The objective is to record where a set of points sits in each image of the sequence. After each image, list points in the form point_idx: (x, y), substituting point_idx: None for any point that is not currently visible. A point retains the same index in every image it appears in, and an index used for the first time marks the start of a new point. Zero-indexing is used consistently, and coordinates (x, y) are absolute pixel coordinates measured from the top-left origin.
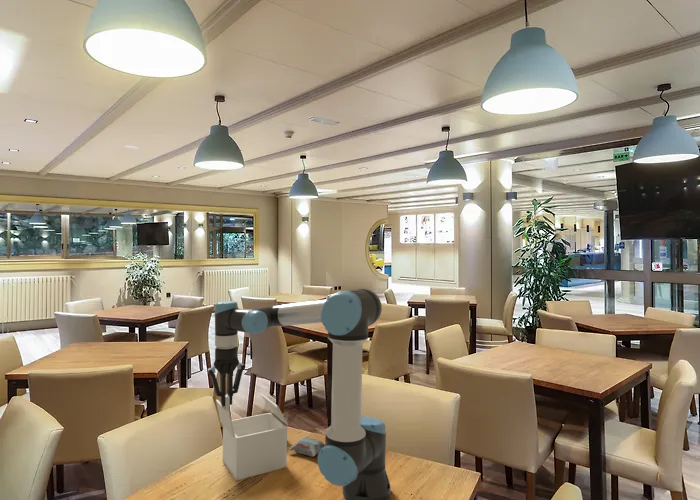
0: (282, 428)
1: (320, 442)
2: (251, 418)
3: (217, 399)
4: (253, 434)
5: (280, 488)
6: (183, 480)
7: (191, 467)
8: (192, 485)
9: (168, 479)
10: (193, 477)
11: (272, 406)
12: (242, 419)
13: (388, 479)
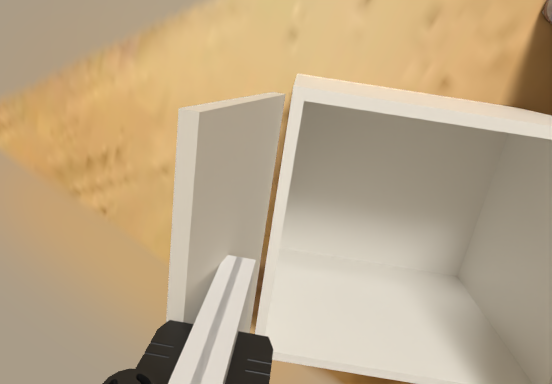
0: None
1: None
2: (505, 131)
3: (197, 118)
4: (345, 371)
5: None
6: (117, 130)
7: (168, 45)
8: (137, 183)
9: (70, 86)
10: (154, 132)
11: None
12: (436, 121)
13: None
